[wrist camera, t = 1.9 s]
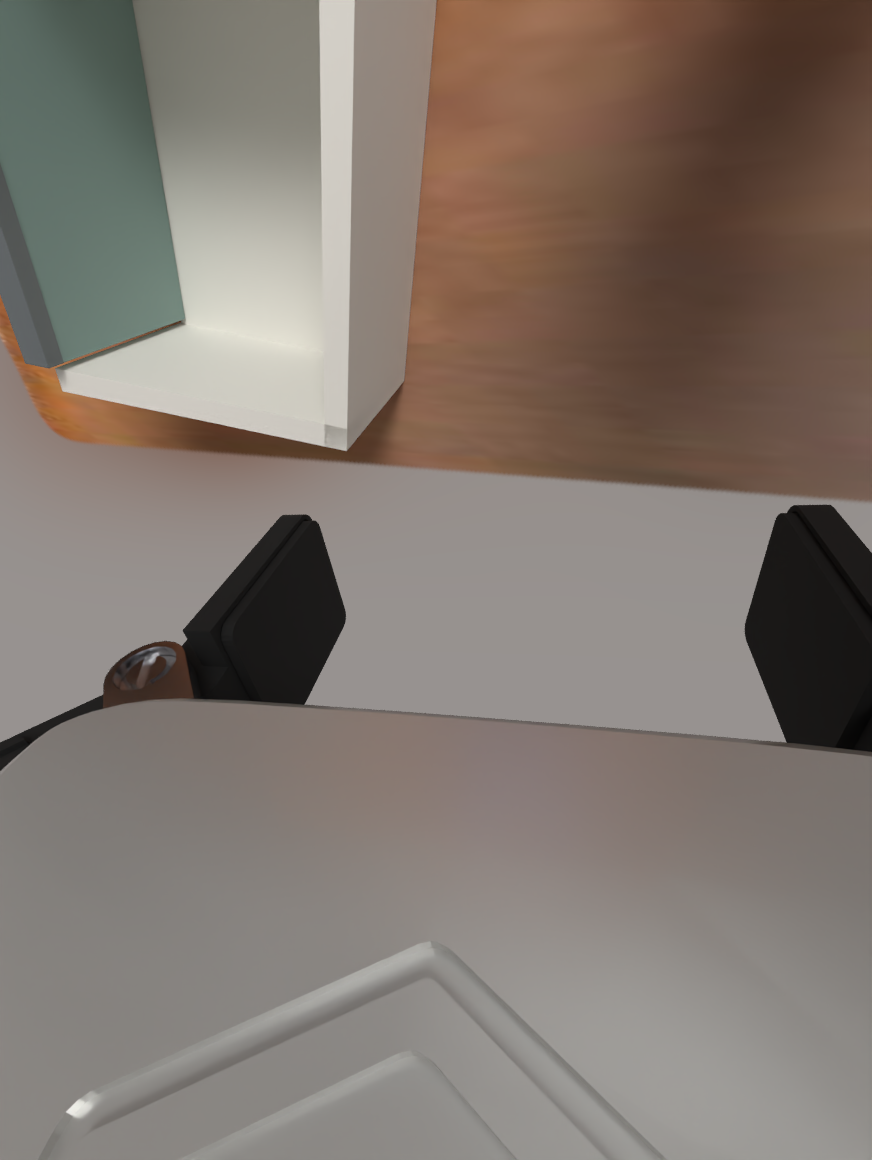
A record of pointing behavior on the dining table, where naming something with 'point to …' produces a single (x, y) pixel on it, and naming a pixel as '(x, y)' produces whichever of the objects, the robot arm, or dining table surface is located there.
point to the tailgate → (79, 182)
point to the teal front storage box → (281, 212)
